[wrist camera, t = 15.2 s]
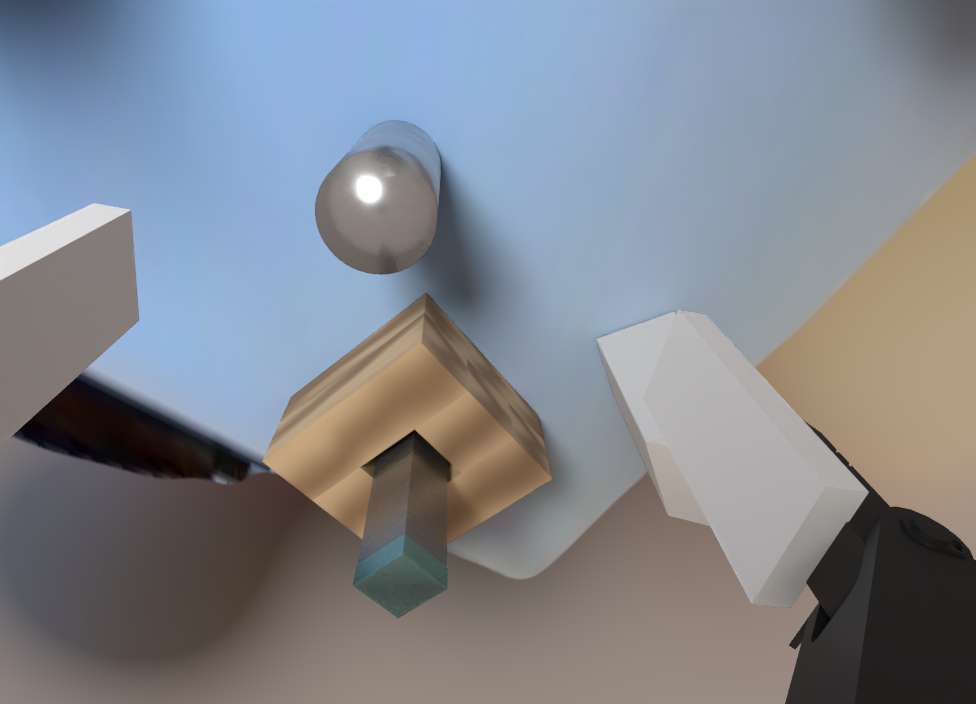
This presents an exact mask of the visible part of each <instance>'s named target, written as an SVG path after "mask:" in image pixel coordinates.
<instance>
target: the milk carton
mask: <svg viewBox="0 0 976 704" xmlns="http://www.w3.org/2000/svg"><path fill="white" fill-rule="evenodd" d="M676 315H677V314H676V313H675V312H671V313H668V314H665V315H662V316H659V317H657V318H654V319H651V320H648V321H645V322H642V323H640V324H637V325H634V326H631V327H628V328H626V329H623V330H620V331H617V332H614V333H611V334H609V335H606V336H603V337H600V338H597V339H596V341H597V345H598V348H599V351H600V354H601V357H602V360H603V363H604V366H605V369H606V372H607V375H608V378H609V382H610V385H611V388H612V391H613V394H614V397H615V399H616V402H617V404H618V406H619V408H620V411H621V413H622V415H623V417H624V419H625V422H626V424H627V426H628V428H629V430H630V433H631V435H632V437H633V439H634V441H635V444H636V446H637V448H638V450H639V452H640V455H641V457H642V459H643V461H644V463H645V466H646V468H647V470H648V472H649V474H650V477H651V479H652V481H653V483H654V486H655V488H656V490H657V492H658V494H659V497H660V499H661V501H662V503H663V505H664V508H665V510H666V512H667V514H668V515H669V516H672V517H676V518H679V519H683V520H687V521H691V522H695V523H699V524H703V525H706V526H710V525H709V523H708V521H707V519H706V517H705V515H704V513H703V512H702V510H701V508H700V506H699V504H698V502H697V500H696V498H695V496H694V495H693V493H692V491H691V489H690V487H689V485H688V483H687V481H686V479H685V478H684V476H683V474H682V472H681V470H680V468H679V466H678V464H677V462H676V461H675V459H674V457H673V455H672V453H671V451H670V449H669V447H668V445H667V444H666V442H665V440H664V438H663V436H662V434H661V432H660V430H659V428H658V427H657V425H656V423H655V421H654V419H653V417H652V415H651V413H650V411H649V410H648V408H647V406H646V404H645V402H644V400H643V397H644V395H645V392H646V390H647V387H648V385H649V382H650V380H651V377H652V375H653V372H654V370H655V367H656V365H657V362H658V360H659V357H660V355H661V352H662V350H663V347H664V345H665V342H666V340H667V337H668V335H669V332H670V330H671V327H672V325H673V322H674V320H675V317H676Z"/></svg>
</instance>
